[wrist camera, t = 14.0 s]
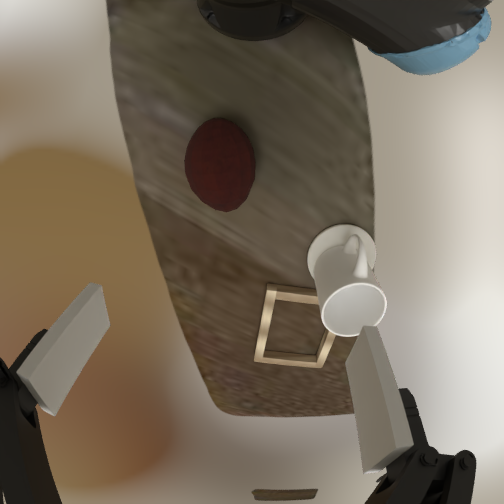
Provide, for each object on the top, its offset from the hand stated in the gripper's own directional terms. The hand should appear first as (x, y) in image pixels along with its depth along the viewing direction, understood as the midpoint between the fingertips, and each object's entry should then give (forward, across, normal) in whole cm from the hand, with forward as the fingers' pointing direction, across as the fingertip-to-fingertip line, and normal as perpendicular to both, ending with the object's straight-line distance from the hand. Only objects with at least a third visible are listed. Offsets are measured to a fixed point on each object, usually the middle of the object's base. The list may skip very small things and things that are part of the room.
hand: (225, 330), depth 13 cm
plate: (+29, +14, -9) cm, 33 cm away
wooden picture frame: (+29, +10, -24) cm, 39 cm away
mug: (+28, +14, -9) cm, 33 cm away
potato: (+29, -5, +3) cm, 29 cm away
